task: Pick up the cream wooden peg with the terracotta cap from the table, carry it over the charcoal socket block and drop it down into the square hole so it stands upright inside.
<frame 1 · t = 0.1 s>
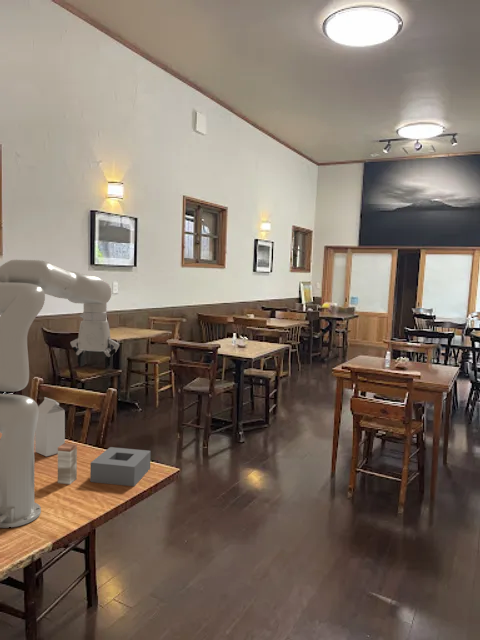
hand: (94, 366, 166), 31 cm above the table, tool pointing down, fingers open, 9 cm apart
socket block: (121, 474, 152), on the table
peg: (67, 481, 147), on the table
milk carton: (50, 452, 170), on the table
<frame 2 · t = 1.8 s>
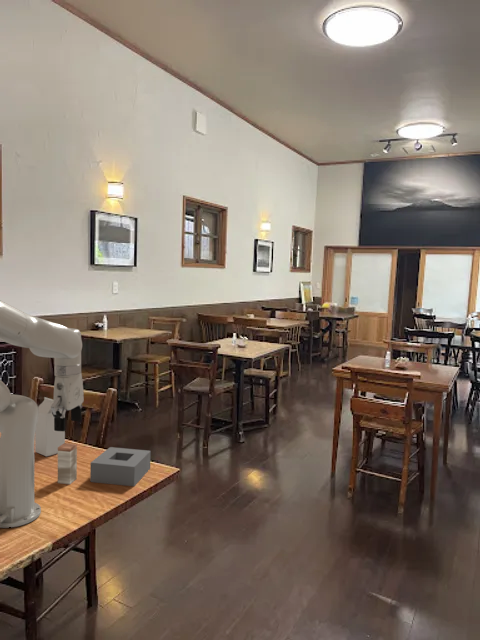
hand: (68, 425, 146), 17 cm above the table, tool pointing down, fingers open, 9 cm apart
nothing on the table moved.
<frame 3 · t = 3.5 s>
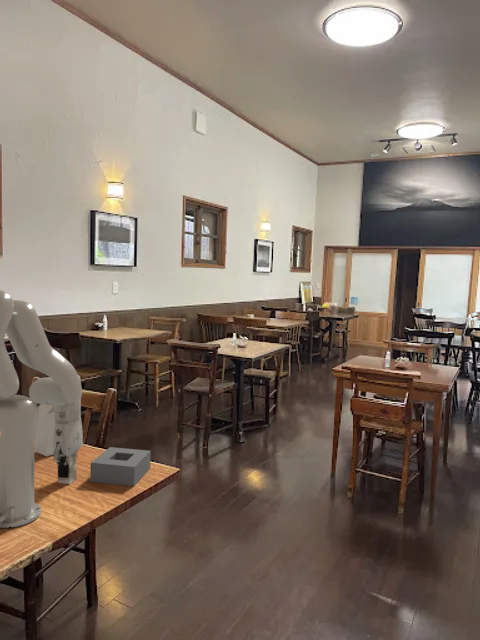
hand: (67, 473, 146), 2 cm above the table, tool pointing down, fingers closed on peg, 4 cm apart
peg: (67, 480, 147), on the table, touching gripper
everything else where it was.
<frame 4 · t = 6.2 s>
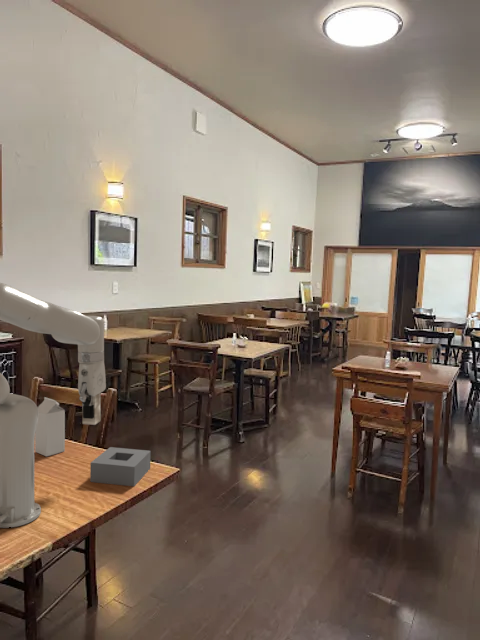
hand: (91, 415, 148), 20 cm above the table, tool pointing down, fingers closed on peg, 4 cm apart
peg: (91, 422, 148), point 17 cm above the table, touching gripper
everything else where it was.
when the fingers open (7 cm above the table, at t = 9.0 s): peg drops 4 cm, resting in socket block.
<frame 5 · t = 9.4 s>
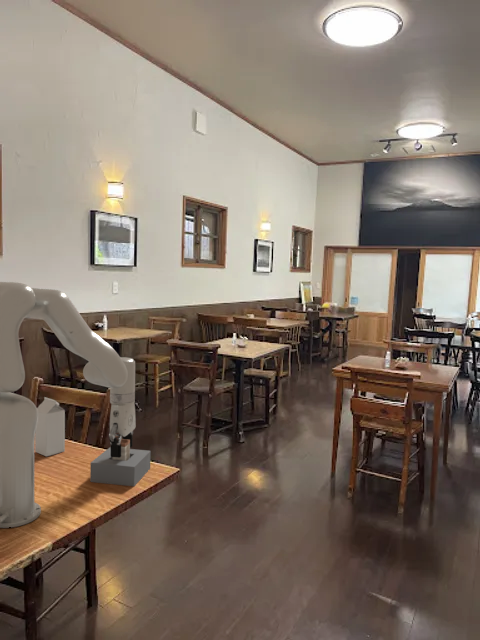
hand: (121, 451, 152), 8 cm above the table, tool pointing down, fingers open, 8 cm apart
peg: (121, 475, 152), resting in socket block
everything else where it was.
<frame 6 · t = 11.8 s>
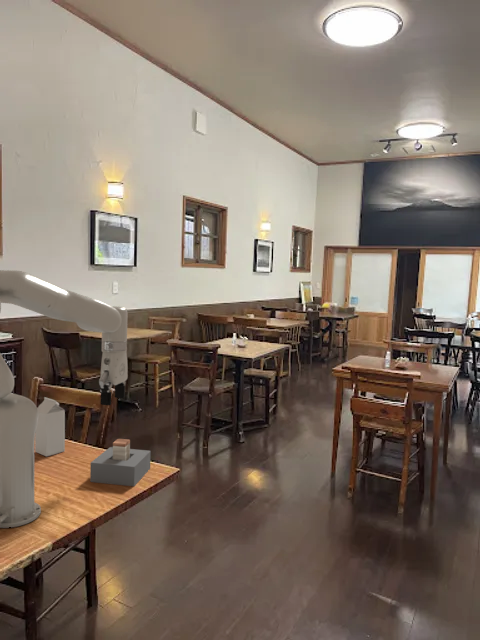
hand: (112, 401, 150), 24 cm above the table, tool pointing down, fingers open, 9 cm apart
nothing on the table moved.
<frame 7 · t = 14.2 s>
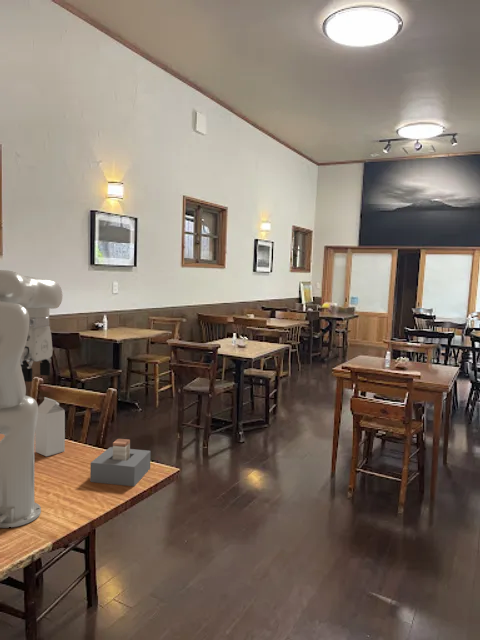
hand: (36, 378, 149), 30 cm above the table, tool pointing down, fingers open, 9 cm apart
nothing on the table moved.
at the end: peg 0.1 cm off-centre on the socket block, point 0.0 cm above the socket block's base; peg tilted 0°; the gripper is holding nothing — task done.
